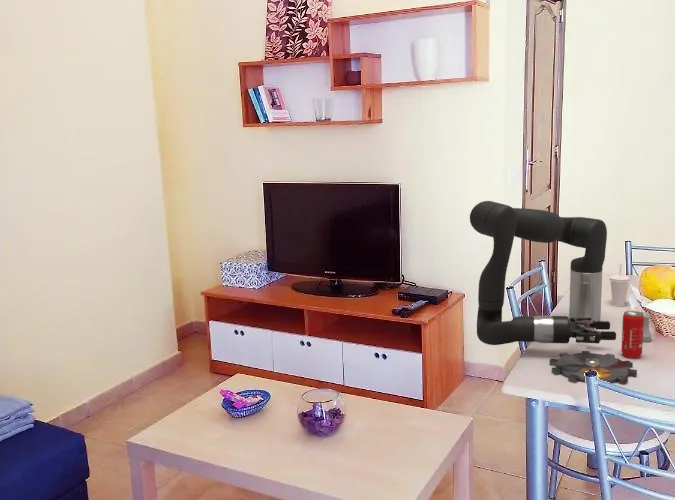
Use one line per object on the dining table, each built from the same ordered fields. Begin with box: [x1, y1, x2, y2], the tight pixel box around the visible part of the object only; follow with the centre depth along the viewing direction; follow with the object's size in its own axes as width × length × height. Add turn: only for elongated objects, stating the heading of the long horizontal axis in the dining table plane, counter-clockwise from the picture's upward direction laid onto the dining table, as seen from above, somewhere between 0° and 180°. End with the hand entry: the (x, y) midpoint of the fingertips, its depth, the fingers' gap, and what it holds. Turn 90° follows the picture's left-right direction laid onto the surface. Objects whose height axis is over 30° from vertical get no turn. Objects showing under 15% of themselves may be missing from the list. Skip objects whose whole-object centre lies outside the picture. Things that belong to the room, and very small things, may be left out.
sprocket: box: [548, 350, 638, 385], centre depth 177 cm, size 21×21×3 cm
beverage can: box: [621, 310, 644, 360], centre depth 184 cm, size 5×5×12 cm
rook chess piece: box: [641, 311, 653, 343], centre depth 196 cm, size 4×4×8 cm
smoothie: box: [609, 263, 631, 308], centre depth 228 cm, size 6×6×14 cm
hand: (612, 330), depth 185 cm, fingers open, 8 cm apart
